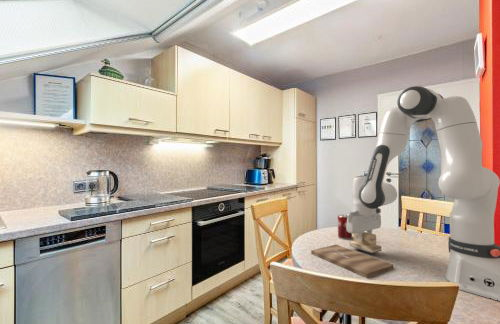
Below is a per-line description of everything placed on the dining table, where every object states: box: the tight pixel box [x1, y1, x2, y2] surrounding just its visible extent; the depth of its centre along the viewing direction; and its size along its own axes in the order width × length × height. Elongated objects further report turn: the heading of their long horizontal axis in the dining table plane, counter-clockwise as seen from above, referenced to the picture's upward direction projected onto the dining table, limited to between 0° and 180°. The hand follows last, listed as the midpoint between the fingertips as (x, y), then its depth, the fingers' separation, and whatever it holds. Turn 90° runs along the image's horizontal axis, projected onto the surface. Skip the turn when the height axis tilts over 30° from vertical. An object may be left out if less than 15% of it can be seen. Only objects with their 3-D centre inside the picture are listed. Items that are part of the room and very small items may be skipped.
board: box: [310, 244, 395, 279], centre depth 103 cm, size 28×16×2 cm, turn 29°
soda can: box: [337, 214, 353, 240], centre depth 135 cm, size 7×7×12 cm
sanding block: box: [349, 231, 383, 254], centre depth 113 cm, size 12×6×7 cm, turn 29°
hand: (364, 240), depth 113 cm, fingers closed on sanding block, 4 cm apart
